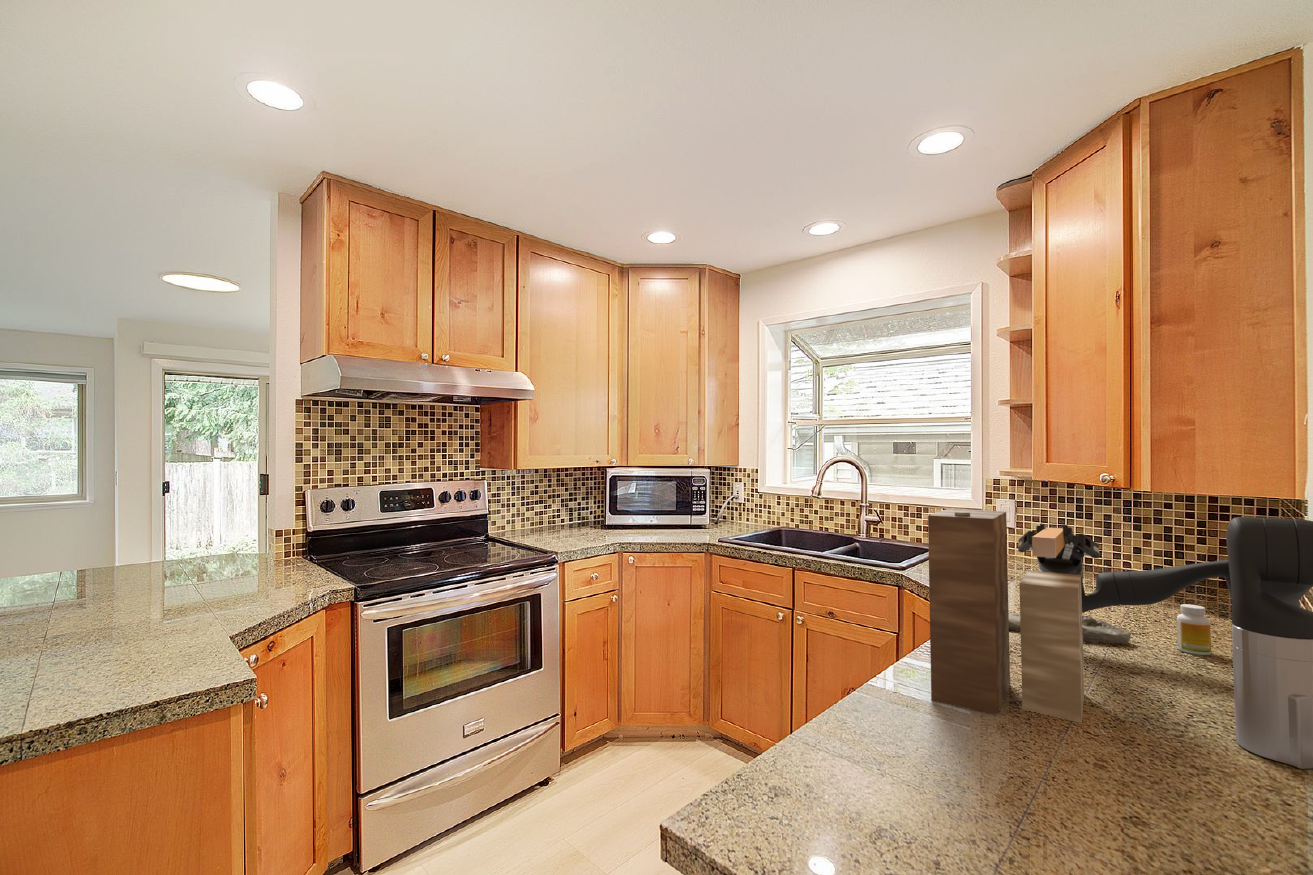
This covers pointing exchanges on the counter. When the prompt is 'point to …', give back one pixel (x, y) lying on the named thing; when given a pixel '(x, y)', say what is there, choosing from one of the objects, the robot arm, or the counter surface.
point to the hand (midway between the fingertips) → (1053, 528)
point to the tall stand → (969, 609)
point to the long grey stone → (1087, 630)
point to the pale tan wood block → (1048, 542)
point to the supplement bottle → (1193, 630)
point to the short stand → (1052, 644)
